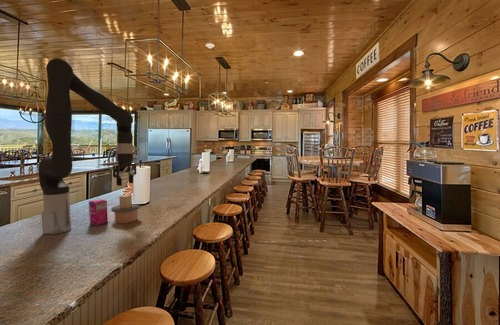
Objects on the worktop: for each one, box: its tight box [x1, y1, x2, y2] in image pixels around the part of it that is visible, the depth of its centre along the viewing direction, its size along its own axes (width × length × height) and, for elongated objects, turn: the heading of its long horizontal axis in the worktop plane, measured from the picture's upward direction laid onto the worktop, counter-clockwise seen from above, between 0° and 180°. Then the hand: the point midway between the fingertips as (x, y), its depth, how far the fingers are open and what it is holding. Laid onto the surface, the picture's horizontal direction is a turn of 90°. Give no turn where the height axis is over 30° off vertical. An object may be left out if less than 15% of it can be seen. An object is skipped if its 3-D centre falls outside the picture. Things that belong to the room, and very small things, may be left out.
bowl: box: [113, 210, 138, 224], centre depth 126 cm, size 10×10×6 cm
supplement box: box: [88, 199, 109, 227], centre depth 119 cm, size 6×6×12 cm
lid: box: [110, 194, 141, 213], centre depth 125 cm, size 13×13×7 cm
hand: (125, 184), depth 124 cm, fingers open, 8 cm apart
